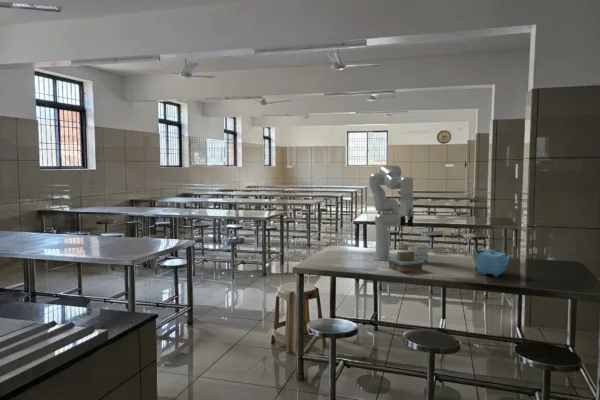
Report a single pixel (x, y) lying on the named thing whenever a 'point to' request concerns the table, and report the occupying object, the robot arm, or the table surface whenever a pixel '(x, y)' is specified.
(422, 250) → the ink box
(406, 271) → the box
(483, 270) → the teakettle
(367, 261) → the table surface
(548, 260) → the table surface
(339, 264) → the table surface
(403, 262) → the lid
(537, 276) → the table surface
